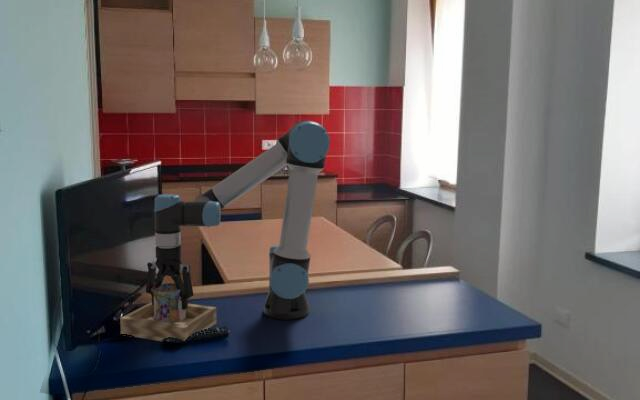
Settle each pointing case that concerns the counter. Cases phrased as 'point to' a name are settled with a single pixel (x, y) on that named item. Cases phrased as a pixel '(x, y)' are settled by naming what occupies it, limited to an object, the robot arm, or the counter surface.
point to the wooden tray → (145, 326)
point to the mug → (166, 303)
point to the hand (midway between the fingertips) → (170, 317)
